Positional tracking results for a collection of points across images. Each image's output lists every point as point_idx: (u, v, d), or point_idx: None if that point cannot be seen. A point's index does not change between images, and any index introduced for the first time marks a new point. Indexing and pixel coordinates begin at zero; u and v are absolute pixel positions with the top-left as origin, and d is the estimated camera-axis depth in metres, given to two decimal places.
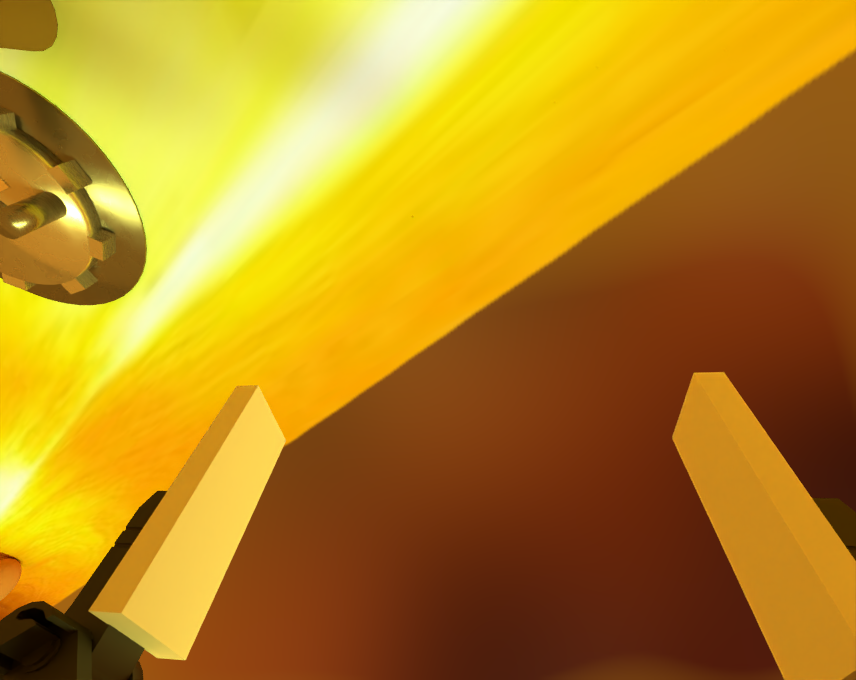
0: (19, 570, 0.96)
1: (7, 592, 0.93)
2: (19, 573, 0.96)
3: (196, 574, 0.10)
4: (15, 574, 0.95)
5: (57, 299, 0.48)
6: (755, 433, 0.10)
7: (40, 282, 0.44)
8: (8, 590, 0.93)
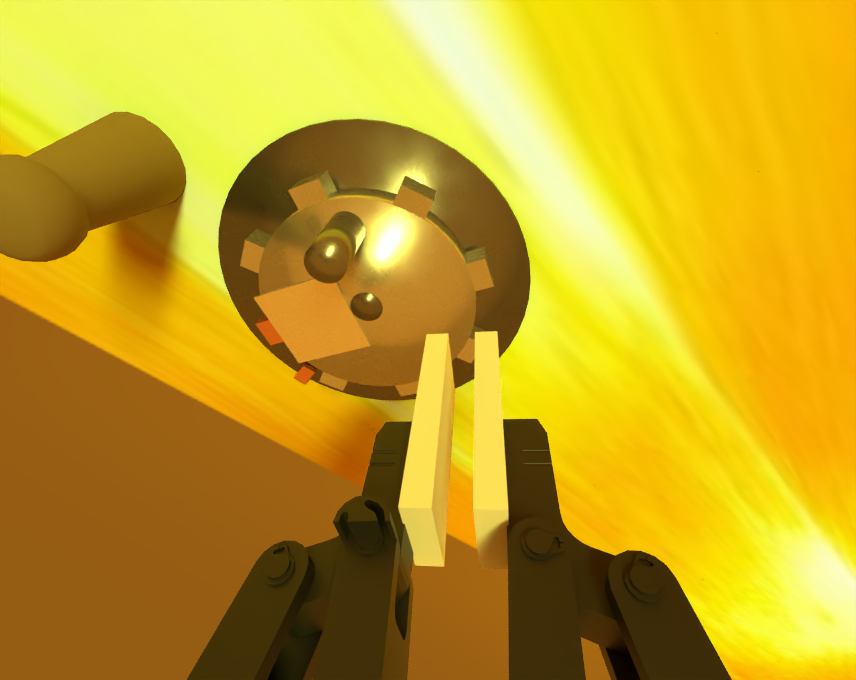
0: None
1: None
2: None
3: (443, 492, 0.11)
4: None
5: (516, 326, 0.33)
6: (492, 373, 0.12)
7: (471, 317, 0.31)
8: None
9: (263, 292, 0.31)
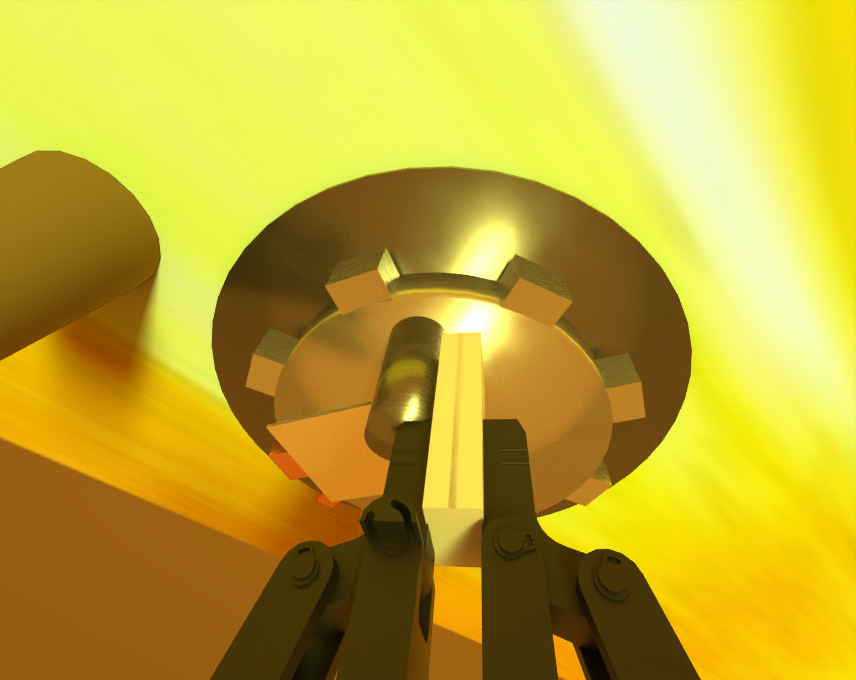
0: None
1: None
2: None
3: None
4: None
5: (646, 452, 0.23)
6: (473, 373, 0.13)
7: (600, 454, 0.20)
8: None
9: (282, 419, 0.20)
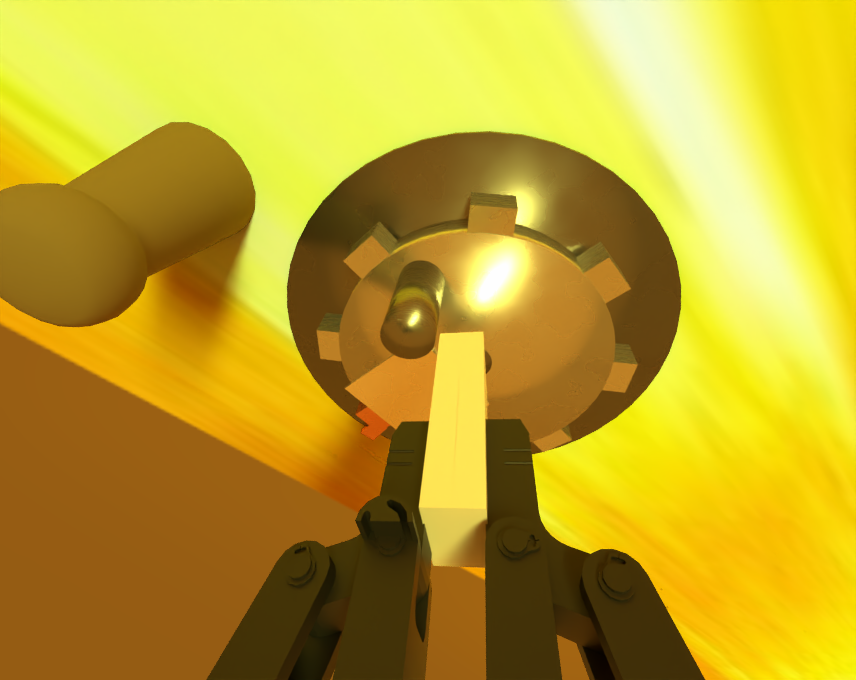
0: None
1: None
2: None
3: None
4: None
5: (646, 382, 0.27)
6: (476, 373, 0.13)
7: (610, 337, 0.23)
8: None
9: (353, 379, 0.27)
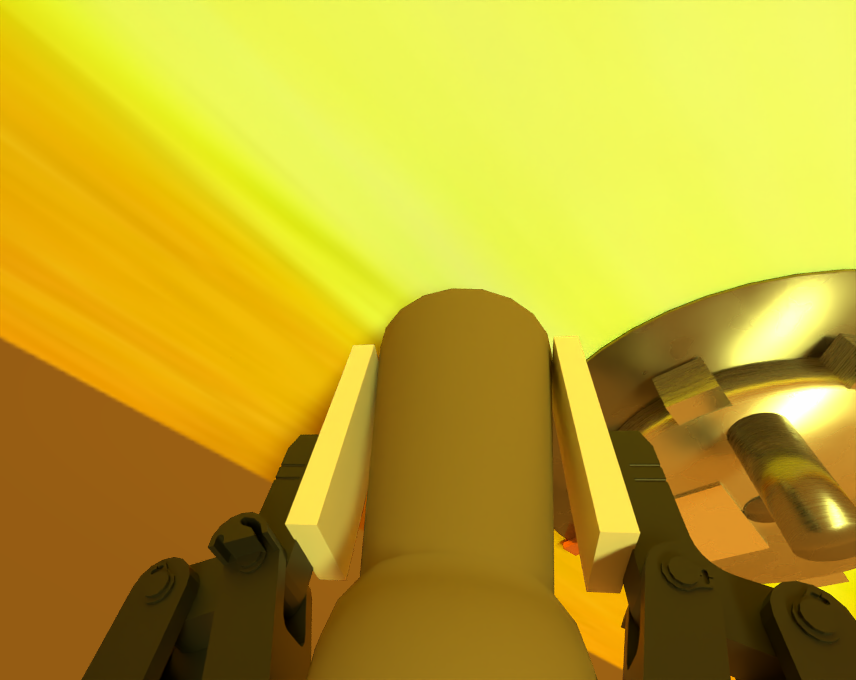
0: None
1: None
2: None
3: (349, 505, 0.11)
4: None
5: None
6: (583, 381, 0.12)
7: None
8: None
9: None
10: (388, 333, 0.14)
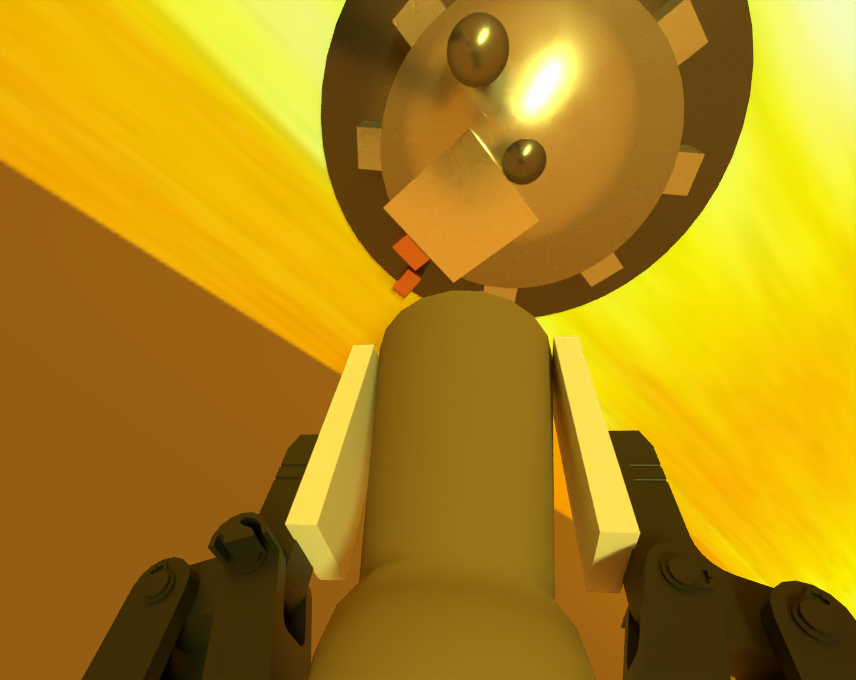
0: None
1: None
2: None
3: (349, 505, 0.11)
4: None
5: (703, 201, 0.26)
6: (583, 381, 0.12)
7: (679, 114, 0.21)
8: None
9: (393, 195, 0.25)
10: (388, 335, 0.14)
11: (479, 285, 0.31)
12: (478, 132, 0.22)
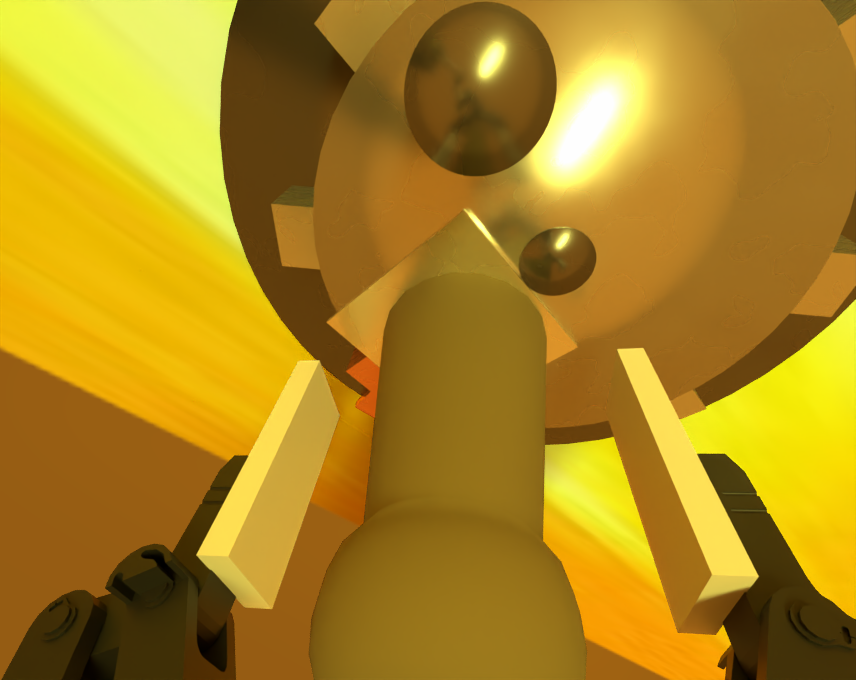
0: None
1: None
2: None
3: (278, 530, 0.11)
4: None
5: None
6: (659, 399, 0.11)
7: (845, 194, 0.12)
8: None
9: (341, 305, 0.15)
10: (391, 315, 0.15)
11: None
12: (479, 216, 0.13)
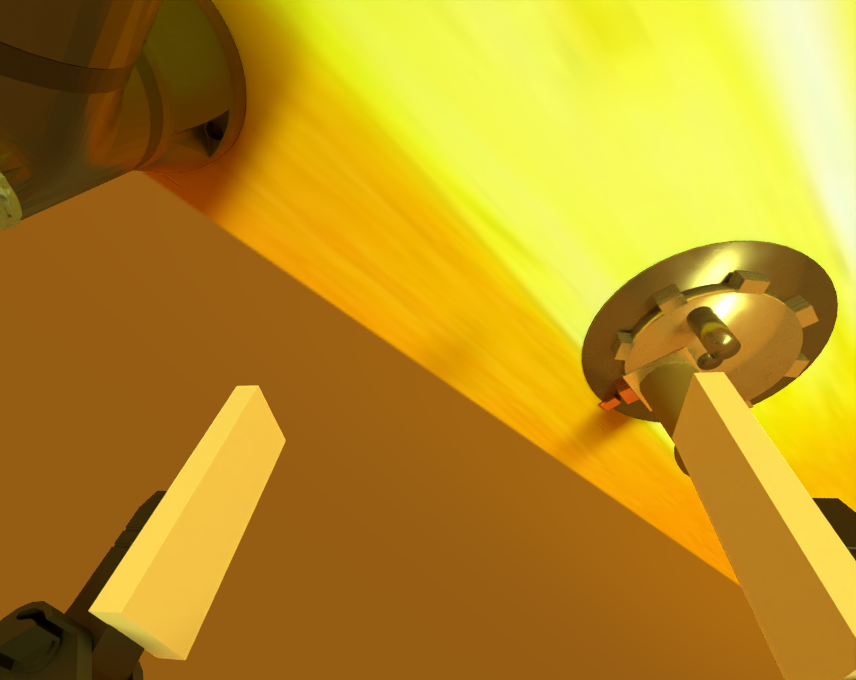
0: None
1: None
2: None
3: (196, 574, 0.10)
4: None
5: None
6: (755, 433, 0.10)
7: (799, 346, 0.41)
8: None
9: (629, 371, 0.45)
10: (651, 375, 0.44)
11: None
12: (688, 348, 0.42)
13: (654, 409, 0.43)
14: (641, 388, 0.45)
